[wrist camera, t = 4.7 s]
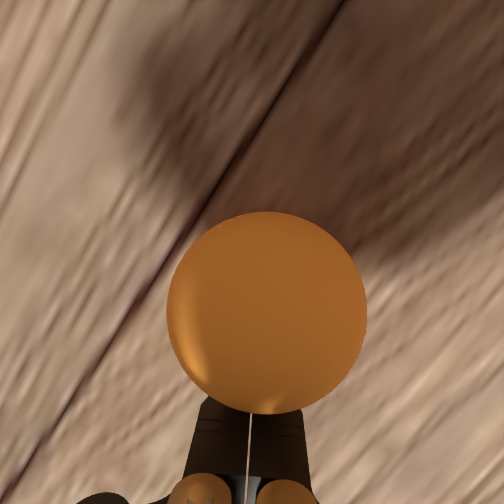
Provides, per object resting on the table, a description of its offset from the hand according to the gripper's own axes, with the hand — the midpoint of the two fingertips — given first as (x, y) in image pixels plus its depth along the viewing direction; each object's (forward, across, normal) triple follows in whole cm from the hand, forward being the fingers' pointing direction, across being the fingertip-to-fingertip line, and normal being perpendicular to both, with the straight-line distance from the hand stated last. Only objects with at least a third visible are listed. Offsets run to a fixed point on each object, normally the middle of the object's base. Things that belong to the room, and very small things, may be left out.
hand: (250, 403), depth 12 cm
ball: (-1, 0, -4) cm, 4 cm away
